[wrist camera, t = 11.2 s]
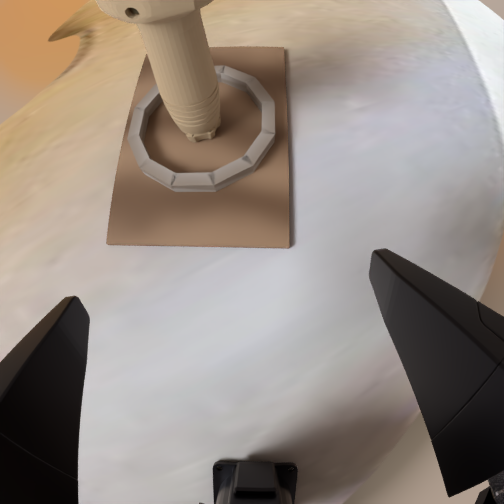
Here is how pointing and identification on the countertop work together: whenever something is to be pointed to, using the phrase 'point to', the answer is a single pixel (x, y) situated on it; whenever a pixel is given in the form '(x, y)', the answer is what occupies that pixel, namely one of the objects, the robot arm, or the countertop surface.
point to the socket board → (208, 163)
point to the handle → (177, 59)
